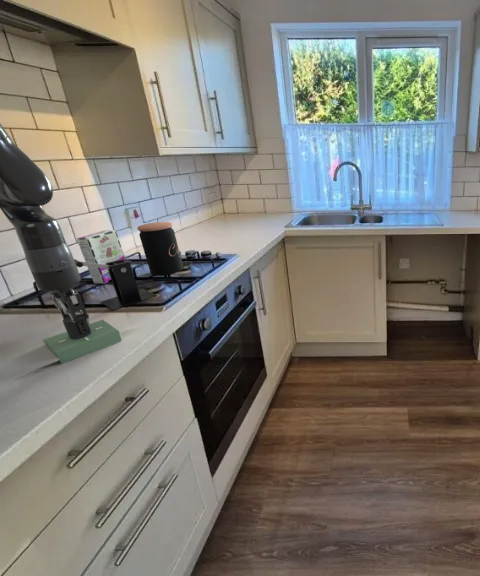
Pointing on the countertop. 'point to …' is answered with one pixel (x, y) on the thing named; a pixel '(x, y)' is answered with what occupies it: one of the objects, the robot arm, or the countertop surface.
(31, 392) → the countertop surface
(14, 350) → the countertop surface
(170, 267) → the coffee jar
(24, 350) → the countertop surface
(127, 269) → the bracket
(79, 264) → the press lever
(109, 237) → the candy bar box
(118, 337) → the panel
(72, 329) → the knob
